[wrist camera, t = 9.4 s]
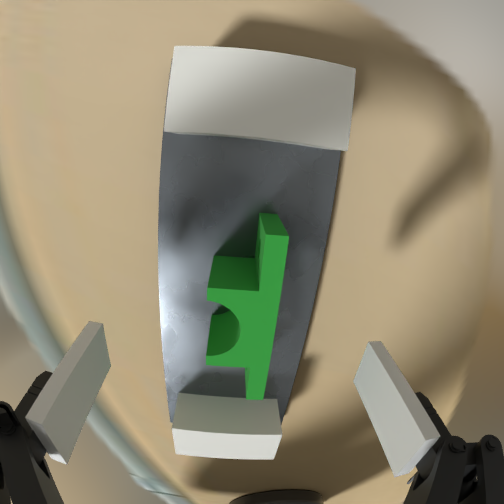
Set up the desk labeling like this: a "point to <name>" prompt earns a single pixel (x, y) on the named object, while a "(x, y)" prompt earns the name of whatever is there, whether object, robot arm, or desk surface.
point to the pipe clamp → (248, 305)
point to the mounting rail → (242, 224)
